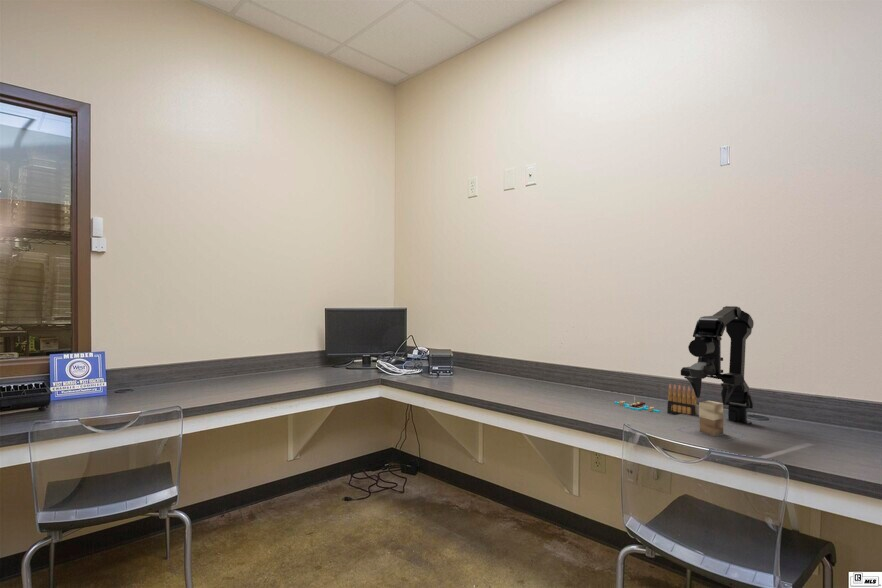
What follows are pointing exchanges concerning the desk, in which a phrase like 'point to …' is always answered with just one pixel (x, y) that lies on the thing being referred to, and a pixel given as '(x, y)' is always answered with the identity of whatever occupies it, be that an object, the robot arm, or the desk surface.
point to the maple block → (711, 410)
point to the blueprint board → (712, 435)
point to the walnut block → (711, 426)
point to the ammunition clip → (681, 401)
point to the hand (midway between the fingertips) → (710, 400)
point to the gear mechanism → (637, 406)
